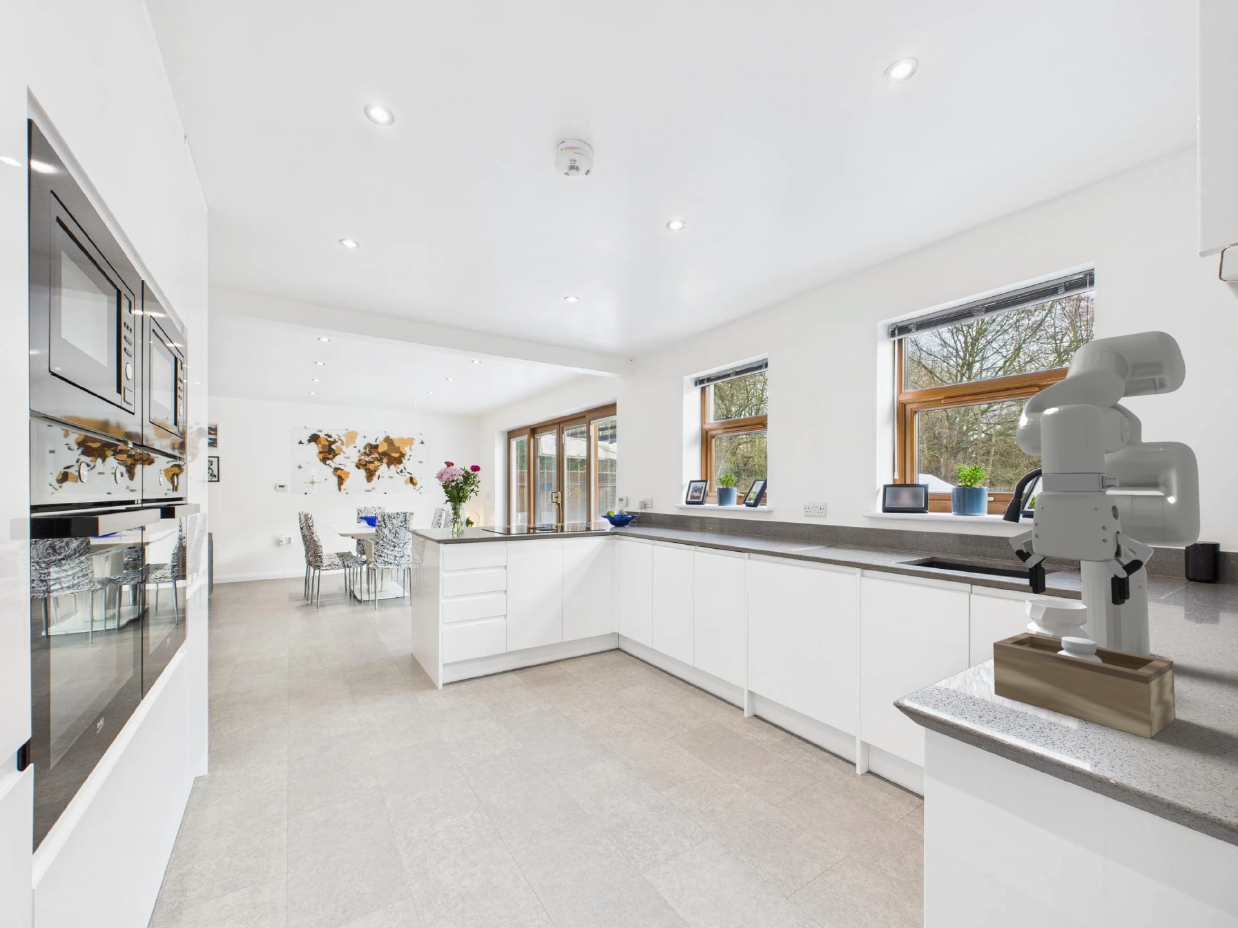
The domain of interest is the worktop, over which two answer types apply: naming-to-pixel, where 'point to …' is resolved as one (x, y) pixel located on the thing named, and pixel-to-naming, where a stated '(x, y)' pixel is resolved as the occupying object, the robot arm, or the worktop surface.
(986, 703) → the worktop surface
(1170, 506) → the robot arm
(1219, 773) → the worktop surface
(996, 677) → the wooden box
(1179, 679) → the worktop surface
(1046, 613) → the vase
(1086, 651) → the supplement bottle
